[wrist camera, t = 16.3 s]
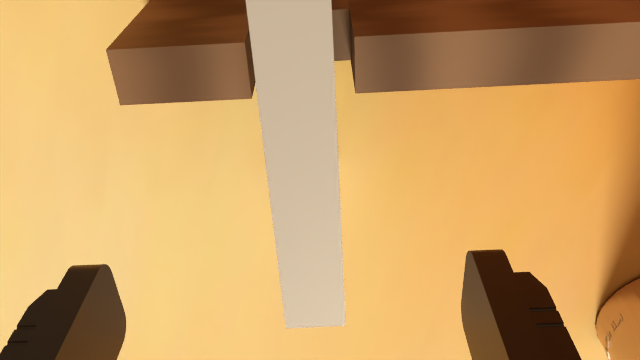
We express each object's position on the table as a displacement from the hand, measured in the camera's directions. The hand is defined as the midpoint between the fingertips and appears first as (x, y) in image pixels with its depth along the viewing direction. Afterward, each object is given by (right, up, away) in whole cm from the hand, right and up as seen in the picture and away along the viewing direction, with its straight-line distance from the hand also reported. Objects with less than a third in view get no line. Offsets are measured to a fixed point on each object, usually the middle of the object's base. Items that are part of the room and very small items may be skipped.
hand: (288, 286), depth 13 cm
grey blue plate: (0, +11, +18) cm, 21 cm away
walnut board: (+5, +12, +18) cm, 22 cm away
